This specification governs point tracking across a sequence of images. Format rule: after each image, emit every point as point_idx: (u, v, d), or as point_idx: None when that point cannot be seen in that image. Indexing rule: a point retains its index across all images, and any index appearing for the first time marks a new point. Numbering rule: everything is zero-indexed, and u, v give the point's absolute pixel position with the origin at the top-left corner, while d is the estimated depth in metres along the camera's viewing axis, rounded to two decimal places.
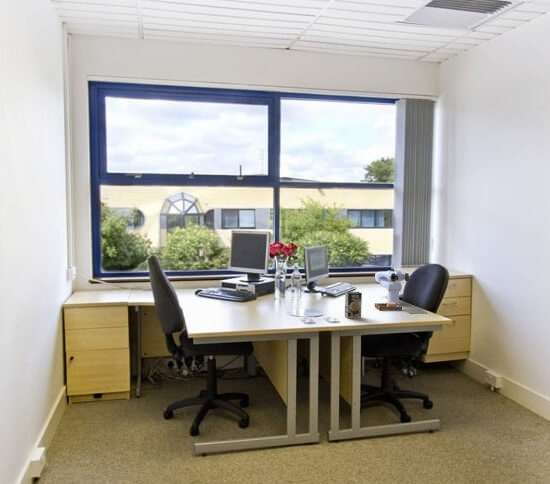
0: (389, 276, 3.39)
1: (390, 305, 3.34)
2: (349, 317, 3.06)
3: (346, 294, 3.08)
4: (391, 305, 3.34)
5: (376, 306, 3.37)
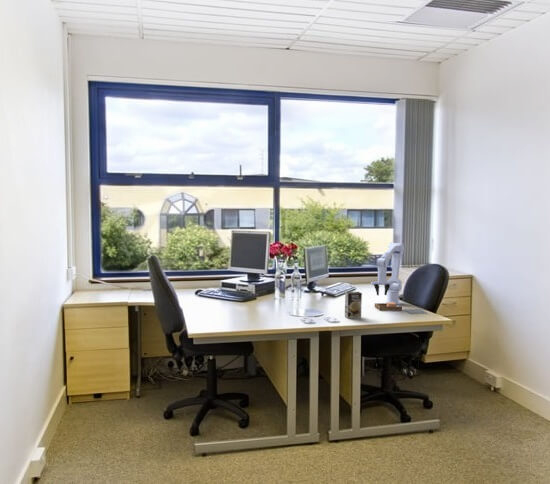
0: (371, 284, 3.33)
1: (390, 305, 3.34)
2: (349, 317, 3.06)
3: (346, 294, 3.08)
4: (391, 305, 3.34)
5: (376, 306, 3.37)
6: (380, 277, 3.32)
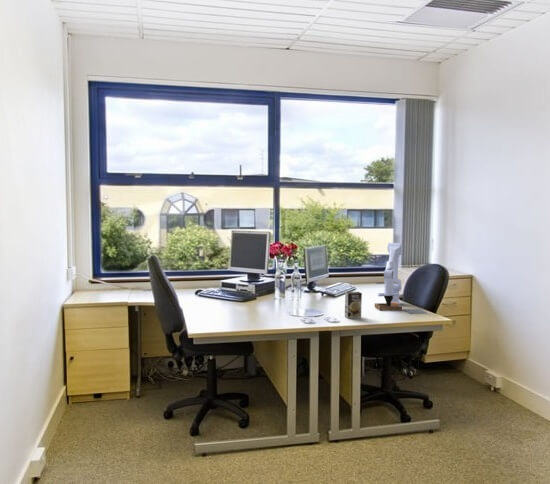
0: None
1: (392, 305, 3.34)
2: (349, 317, 3.06)
3: (346, 294, 3.08)
4: (394, 305, 3.34)
5: (376, 306, 3.37)
6: (387, 289, 3.33)
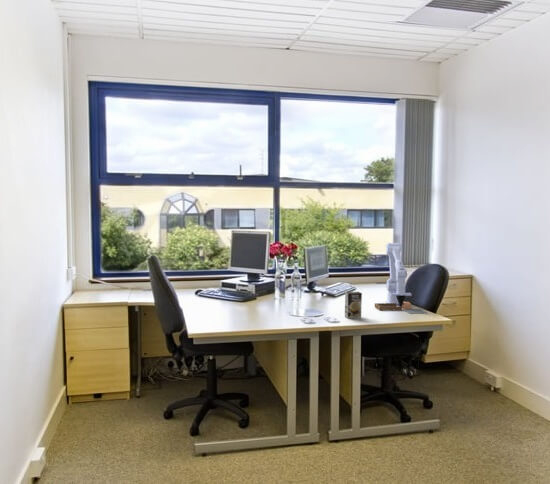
0: (390, 295, 3.35)
1: (405, 305, 3.34)
2: (349, 317, 3.06)
3: (346, 294, 3.08)
4: (406, 305, 3.34)
5: (376, 306, 3.37)
6: (399, 288, 3.34)
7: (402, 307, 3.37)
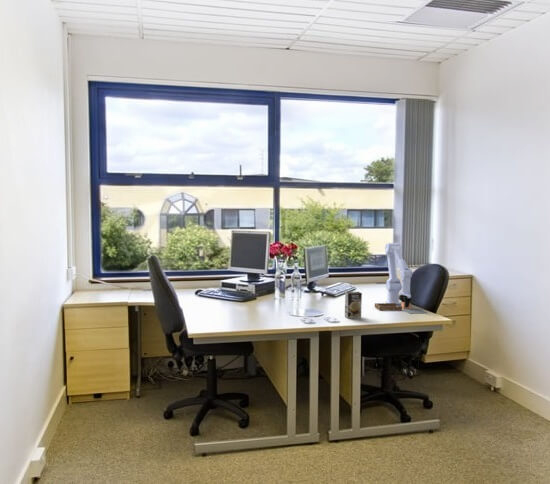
0: None
1: None
2: (349, 317, 3.06)
3: (346, 294, 3.08)
4: None
5: (376, 306, 3.37)
6: None
7: (402, 307, 3.37)
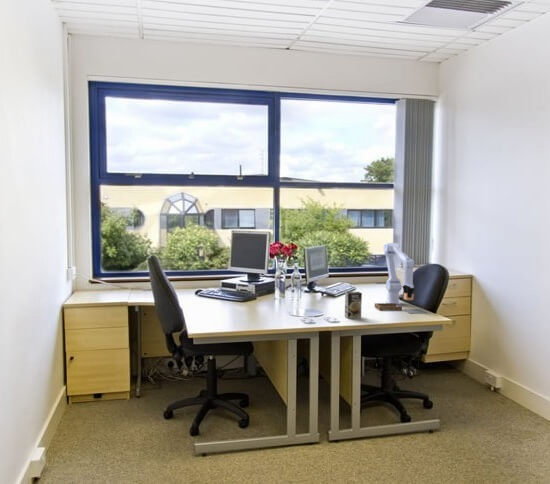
0: None
1: (407, 295, 3.32)
2: (349, 317, 3.06)
3: (346, 294, 3.08)
4: None
5: (376, 306, 3.37)
6: None
7: (405, 298, 3.34)
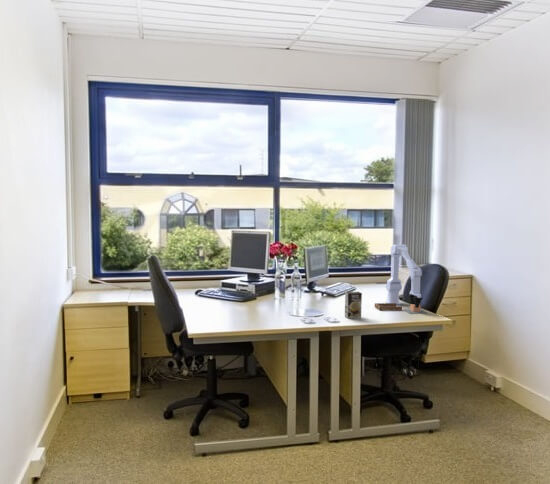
0: (410, 293, 3.34)
1: (414, 307, 3.25)
2: (349, 317, 3.06)
3: (346, 294, 3.08)
4: (415, 307, 3.25)
5: (376, 306, 3.37)
6: None
7: (411, 309, 3.27)
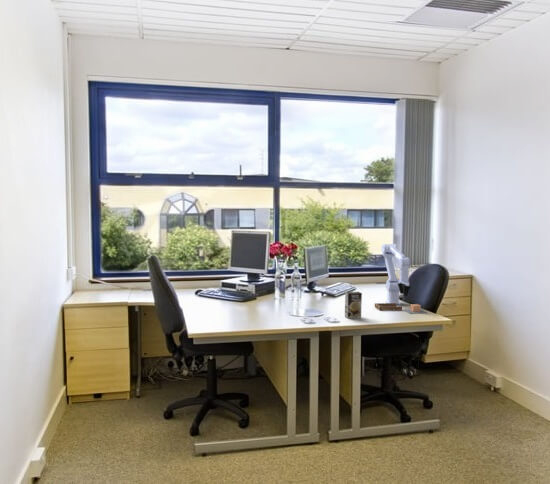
0: None
1: (414, 307, 3.25)
2: (349, 317, 3.06)
3: (346, 294, 3.08)
4: (415, 307, 3.25)
5: (376, 306, 3.37)
6: None
7: (411, 309, 3.27)
